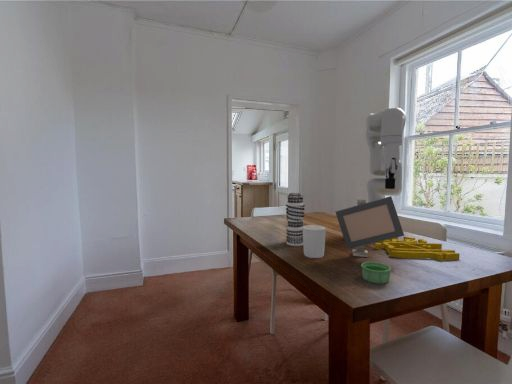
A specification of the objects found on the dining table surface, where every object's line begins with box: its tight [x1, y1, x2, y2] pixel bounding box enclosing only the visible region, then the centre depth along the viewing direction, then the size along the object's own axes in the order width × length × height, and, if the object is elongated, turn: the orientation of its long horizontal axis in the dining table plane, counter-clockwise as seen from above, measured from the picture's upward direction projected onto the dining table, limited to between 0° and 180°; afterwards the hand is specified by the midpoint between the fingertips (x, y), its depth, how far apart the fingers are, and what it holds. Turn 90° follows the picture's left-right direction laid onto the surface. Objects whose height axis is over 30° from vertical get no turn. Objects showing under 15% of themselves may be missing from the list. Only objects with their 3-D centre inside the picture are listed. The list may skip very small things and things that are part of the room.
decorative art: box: [374, 235, 461, 262], centre depth 123 cm, size 34×3×30 cm
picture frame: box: [335, 196, 405, 250], centre depth 108 cm, size 2×22×16 cm, turn 74°
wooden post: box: [351, 198, 370, 258], centre depth 112 cm, size 4×6×24 cm
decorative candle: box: [285, 192, 306, 247], centre depth 132 cm, size 9×9×25 cm
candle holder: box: [302, 224, 327, 259], centre depth 113 cm, size 10×10×12 cm
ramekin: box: [360, 261, 392, 284], centre depth 87 cm, size 9×9×4 cm
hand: (389, 188), depth 105 cm, fingers closed
